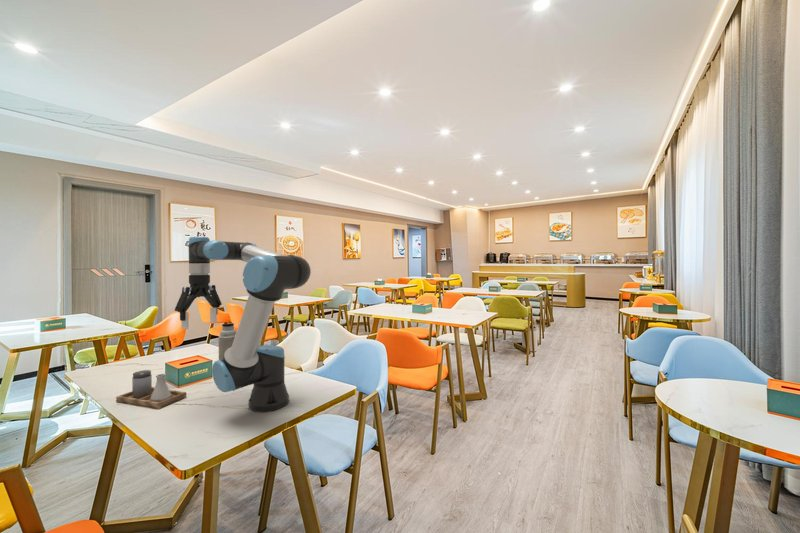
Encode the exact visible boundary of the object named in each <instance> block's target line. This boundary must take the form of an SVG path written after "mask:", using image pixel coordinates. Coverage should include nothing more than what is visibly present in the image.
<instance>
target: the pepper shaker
mask: <svg viewBox="0 0 800 533" xmlns="http://www.w3.org/2000/svg"><path fill="white" fill-rule="evenodd" d="M152 380H153V378H152V371H151V370H150V369H145V370H139V371H136V372H133V373H132V380H131V381H132V383H131V384H132V385H131V386H132V390H131V391H132V398H135V399H140V398H143V397H145V396H148V395H151V394H152V387H153V384H152Z"/></svg>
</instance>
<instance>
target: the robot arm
mask: <svg viewBox="0 0 800 533" xmlns="http://www.w3.org/2000/svg"><path fill="white" fill-rule="evenodd" d="M211 261H241V262H245V263H246V264H245V265H244V268H243V271H242V277H243V278H242V283H243V286H244V287H245V288H246V289H245V291H246V293H247V294H248V297H247V300H246V303H245V306H244V309H243V313H242V315H241V318H240V321H239V325H238V327H237V330H236V335H235V338H234V341H233V344H232V347H230V348H228V349H227V350H226V351H225V354H224V357H223V359H222V360H219V359H218V360H215V361H214V362H213V364H212V367H211V368H212V369H211V371H212V372H211V374H212V378H213V381H214V384H215V385H216V388H217V389H218V390H219V391H220V392H222V393H228V392H232V391H233V392H234V391H236V390H239V389H242V388H245V387H248V386H250V385H251V386H252V385H253V387H252V390H251V393H250V395H249V396H250V397H249V399H248V408H249V409H250V410H251V411H254V412H260V413H261V412H263V413H264V412H271V411H275V410H279V409H281V408H284V407H285V406H287V405H288V404H289V402H290V395H289V393H288V390H287V386H286V384H285V358H286V357H285V350H284V348H283V347H281V346H279V345H271V344H270V345H269V344H265V345H262V344H261V342H262V338H263V336H264V334H265V330H266V328H267V325H268V322H269V320H270V316H271V314H272V312H273V309H274V305H275V303H276V302H278V301H280V300H281V299H282V297H283V295H284V292H285V290H291V289H292V290H294V289H298V288H301V287H303V286H305V284H306V283H307V282H308V281H309V279H310V277H311V273H312V272H311V270H312V269H311V266H310V264H309V262H308V261H307V260H306V259H305V258H304V257H301V256H297V255H295V254H287V255H285V254H281V253H278V252H275V251H271V250H268V249H266V248H262V247H259V246H257V244H256V243H253V242H247V241H246V242H238V241H222V240H217V239H216V240H215V239H213V240H212V239H211V240H210V238H209V237H208V236H190V237H188V274H189V275H188V283H189V286H183V287H182V289H181V293H180V297H179V299H178V301H177V303H176V306H175V308H174V312H177V313H179V320H180V323H181V330H182V329H184V330H188V329H189V311H188V310H189V308H190V307H191V305H192V304H193V302H194V301H195V299H197V298H201V297H203V298H204V299H205V300H206V301H207V303H208V304H209V305H210V306H211V307H210V308H209V310H210V311H209V323H210V324H216V323H218V322H217V321H218V320H217V319H218V318H217V315H218V312H219V311H218V310H219V309H218V308H220V307H221V306H222V304H223V303H222V301H221V299H220V296H219V294H218V292H217V290H216V285H215V284H211V275H210V273H211ZM187 311H188V312H187ZM260 344H261V345H260Z"/></svg>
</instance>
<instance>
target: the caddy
mask: <svg viewBox="0 0 800 533" xmlns="http://www.w3.org/2000/svg"><path fill="white" fill-rule="evenodd" d="M154 388H155V386H152V393H153V391H154ZM169 391H170V393H171V395H172V397H171V398H169V399H166V400H164V401H161V402H153V401H150V398H151V396H152V394H151V395H148V396H145V397H143V398H140V399H135V398H132V390H131V391H129V392H126V393H124V394H120V395H117V396H116V397H115V402H116V403H120V404H125V405H131V406H137V407H141V408H143V407H144V408H148V409H154V410H160V409H163V408H165V407H167V406H169V405H172V404H175V403H177V402H179V401H182V400H184V399H186V398H187V391H181V390H174V389H169Z"/></svg>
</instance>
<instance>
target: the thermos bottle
mask: <svg viewBox="0 0 800 533" xmlns="http://www.w3.org/2000/svg"><path fill="white" fill-rule="evenodd" d="M221 326H222V330H221V331H219V335H218V360H222V359H223V357H224V354H225V351H226V350H227V349H228V348H230V347H232V344H233V341H234V338H235V335H236V332H237V330H236V329H235V324H234V323H233V322H230V323H223V324H221Z"/></svg>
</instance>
